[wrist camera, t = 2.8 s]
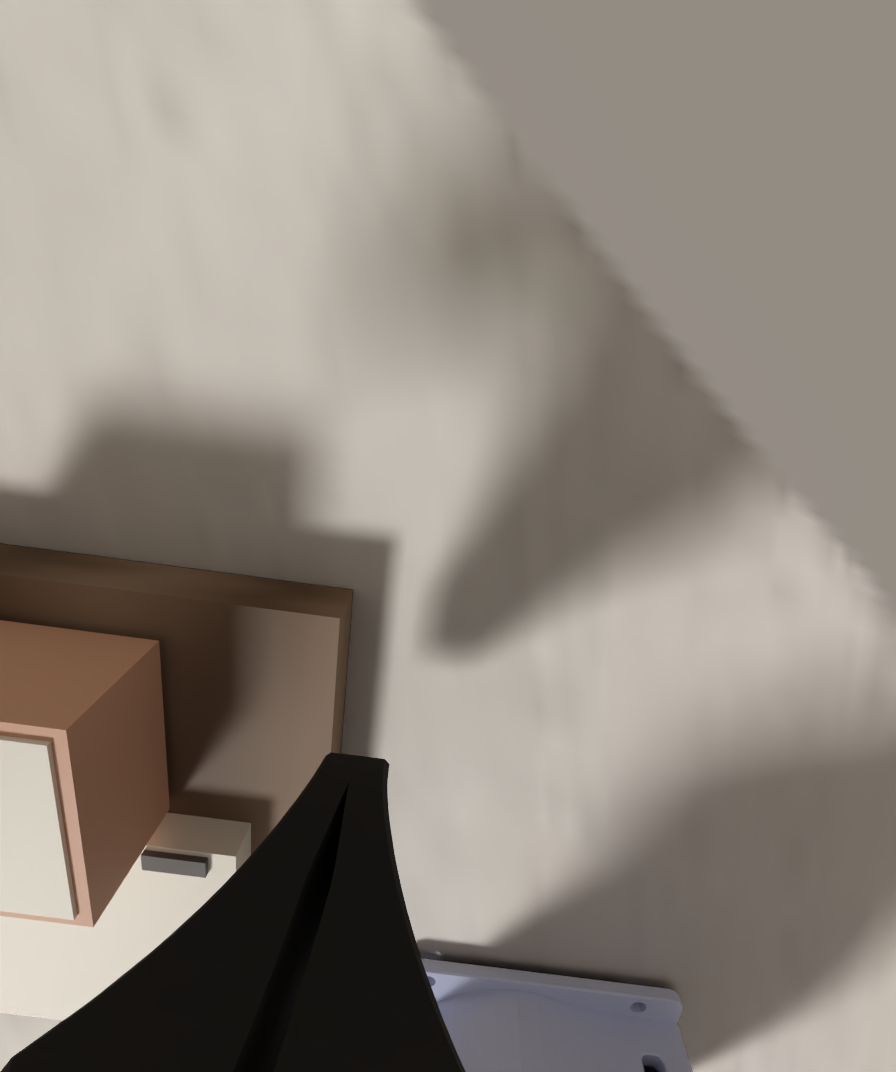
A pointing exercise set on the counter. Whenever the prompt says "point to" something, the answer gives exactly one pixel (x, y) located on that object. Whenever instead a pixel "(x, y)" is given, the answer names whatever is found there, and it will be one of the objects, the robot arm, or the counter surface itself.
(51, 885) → the small tan block
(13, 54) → the counter surface
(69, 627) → the board
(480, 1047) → the robot arm
